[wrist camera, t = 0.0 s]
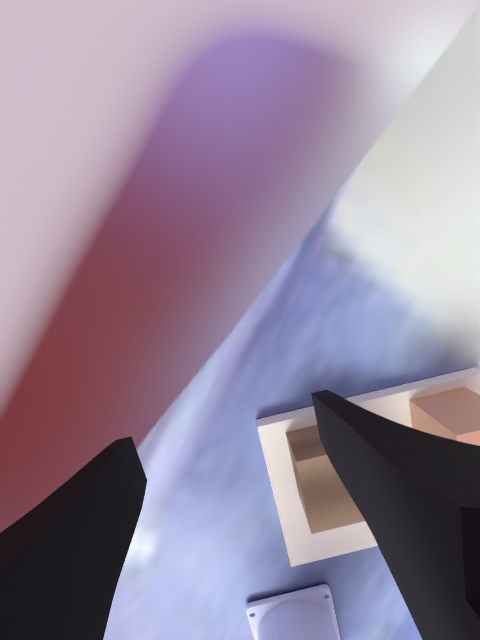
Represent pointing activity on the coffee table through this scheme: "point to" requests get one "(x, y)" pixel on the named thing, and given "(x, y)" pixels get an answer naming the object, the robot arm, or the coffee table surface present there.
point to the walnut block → (319, 483)
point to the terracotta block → (448, 415)
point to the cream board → (282, 475)
